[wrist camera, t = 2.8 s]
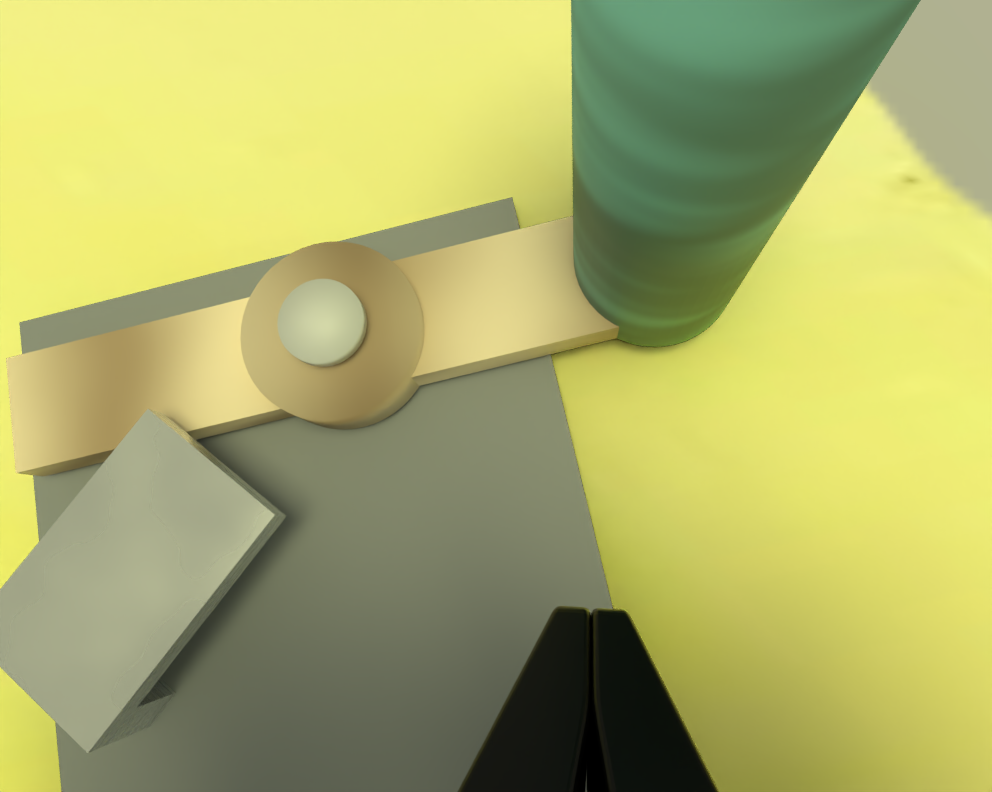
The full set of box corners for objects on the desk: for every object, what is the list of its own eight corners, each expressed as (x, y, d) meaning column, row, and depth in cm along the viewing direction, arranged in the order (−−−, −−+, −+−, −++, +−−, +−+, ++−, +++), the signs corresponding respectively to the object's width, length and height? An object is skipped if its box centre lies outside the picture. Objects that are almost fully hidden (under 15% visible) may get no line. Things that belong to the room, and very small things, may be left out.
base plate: (691, 933, 17) (716, 1017, 14) (102, 1047, 18) (4, 1151, 15) (513, 206, 21) (503, 149, 18) (34, 328, 21) (-54, 293, 18)
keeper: (198, 424, 20) (147, 408, 17) (311, 518, 19) (274, 514, 17) (39, 621, 19) (-35, 632, 17) (149, 726, 18) (87, 753, 16)
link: (46, 503, 19) (-946, 427, 7) (31, 342, 20) (-867, 11, 8) (757, 332, 18) (1160, -134, 6) (708, 172, 19) (960, -539, 7)
